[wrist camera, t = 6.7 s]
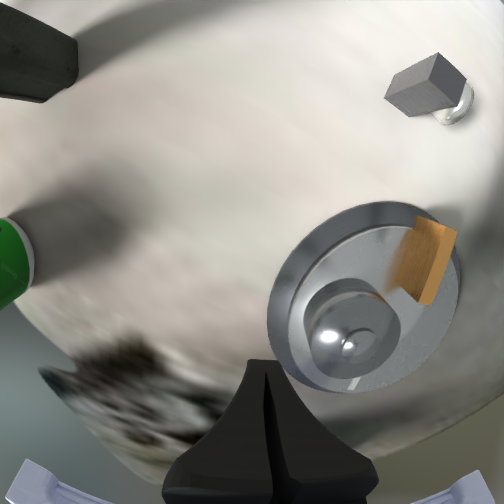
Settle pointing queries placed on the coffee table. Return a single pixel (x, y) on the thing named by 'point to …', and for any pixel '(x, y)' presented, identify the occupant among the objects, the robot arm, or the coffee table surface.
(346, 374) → the cover
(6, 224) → the soda can
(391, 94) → the grey cube on chrome
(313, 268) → the turntable
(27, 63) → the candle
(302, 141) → the coffee table surface
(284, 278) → the turntable base
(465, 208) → the coffee table surface
